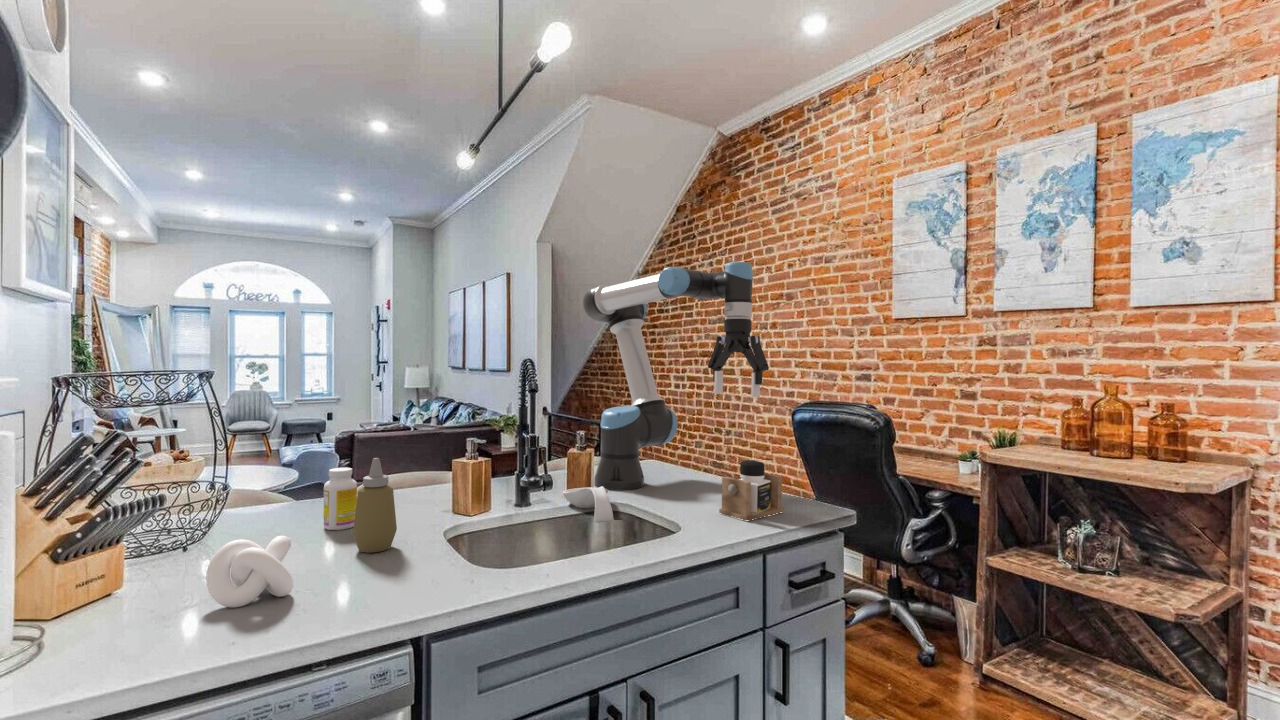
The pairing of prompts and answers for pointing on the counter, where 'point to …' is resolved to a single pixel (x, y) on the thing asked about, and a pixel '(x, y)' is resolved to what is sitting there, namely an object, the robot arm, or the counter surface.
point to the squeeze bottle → (375, 512)
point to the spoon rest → (591, 501)
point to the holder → (748, 497)
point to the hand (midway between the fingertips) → (736, 395)
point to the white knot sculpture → (248, 571)
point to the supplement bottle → (340, 499)
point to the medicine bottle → (756, 484)
